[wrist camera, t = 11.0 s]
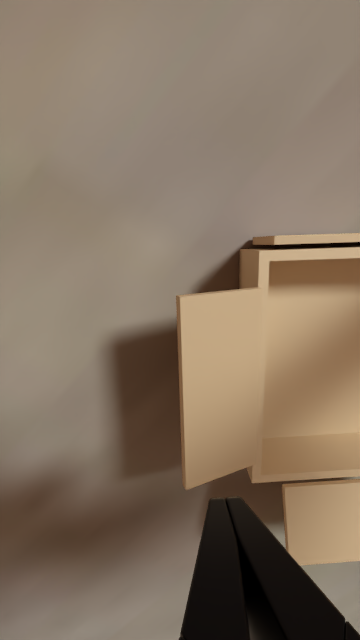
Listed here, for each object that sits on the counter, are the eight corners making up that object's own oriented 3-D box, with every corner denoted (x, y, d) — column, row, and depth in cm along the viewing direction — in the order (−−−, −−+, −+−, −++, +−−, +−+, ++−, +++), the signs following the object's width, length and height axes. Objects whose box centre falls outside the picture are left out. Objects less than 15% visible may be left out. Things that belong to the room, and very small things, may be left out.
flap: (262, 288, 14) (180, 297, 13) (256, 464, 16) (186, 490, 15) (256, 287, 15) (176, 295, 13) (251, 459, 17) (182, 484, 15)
